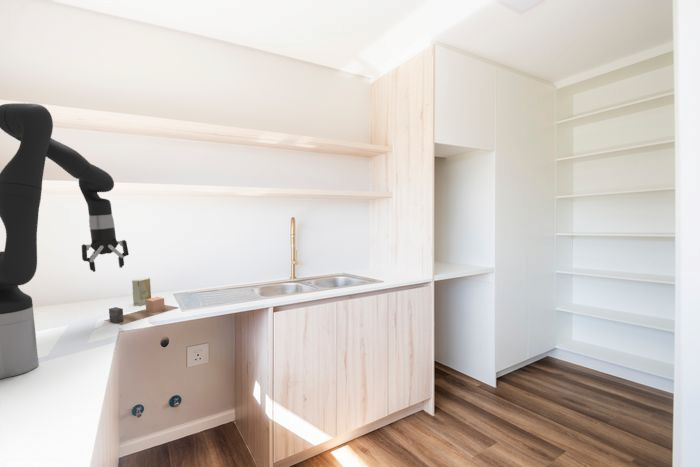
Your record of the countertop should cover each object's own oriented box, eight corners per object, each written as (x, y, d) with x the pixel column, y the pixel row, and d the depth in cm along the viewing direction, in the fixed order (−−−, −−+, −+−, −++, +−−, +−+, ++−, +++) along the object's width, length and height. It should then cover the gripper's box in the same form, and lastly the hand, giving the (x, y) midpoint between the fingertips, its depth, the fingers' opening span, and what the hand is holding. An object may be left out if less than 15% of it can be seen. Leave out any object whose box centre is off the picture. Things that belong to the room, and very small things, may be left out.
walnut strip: (121, 327, 130) (120, 311, 130) (104, 322, 136) (103, 307, 136) (179, 309, 151) (178, 296, 151) (162, 306, 157) (161, 293, 156)
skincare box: (141, 307, 156) (139, 280, 155) (133, 307, 156) (131, 280, 155) (152, 303, 162) (150, 277, 161) (144, 303, 163) (142, 277, 162)
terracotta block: (153, 312, 145) (152, 301, 144) (146, 311, 147) (145, 299, 147) (164, 309, 149) (163, 298, 148) (157, 308, 151) (156, 296, 151)
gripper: (79, 229, 122) (86, 274, 125) (126, 225, 132) (131, 267, 134) (77, 228, 128) (83, 271, 130) (122, 224, 138) (127, 264, 140)
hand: (107, 269), depth 132 cm, fingers open, 8 cm apart
